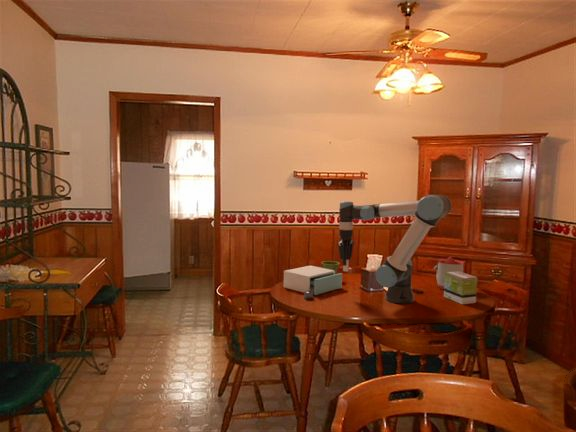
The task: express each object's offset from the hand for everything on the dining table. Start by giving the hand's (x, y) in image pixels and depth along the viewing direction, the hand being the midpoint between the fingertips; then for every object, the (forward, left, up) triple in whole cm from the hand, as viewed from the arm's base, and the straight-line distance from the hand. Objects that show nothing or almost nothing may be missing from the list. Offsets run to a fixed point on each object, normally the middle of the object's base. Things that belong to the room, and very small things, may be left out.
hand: (345, 271), depth 251 cm
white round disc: (+24, 0, -12) cm, 26 cm away
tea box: (-48, -41, -15) cm, 65 cm away
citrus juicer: (-32, -61, -15) cm, 70 cm away
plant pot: (+30, -24, -15) cm, 41 cm away
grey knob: (+11, +19, -14) cm, 26 cm away
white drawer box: (+27, 0, -14) cm, 30 cm away
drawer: (+23, 0, -14) cm, 27 cm away
